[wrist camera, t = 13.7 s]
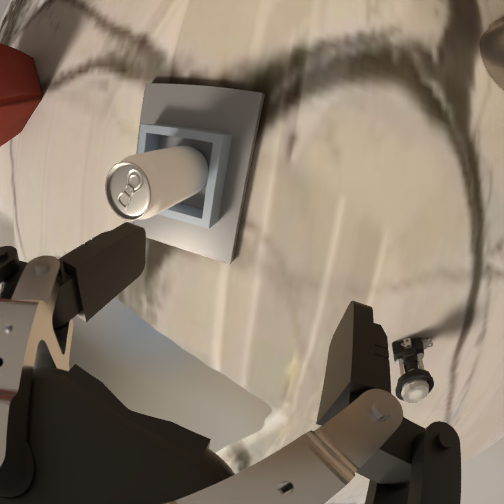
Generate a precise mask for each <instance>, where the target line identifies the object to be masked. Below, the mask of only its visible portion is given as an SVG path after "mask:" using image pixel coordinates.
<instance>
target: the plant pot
mask: <svg viewBox="0 0 504 504" xmlns="http://www.w3.org/2000/svg"><path fill="white" fill-rule="evenodd" d="M41 99H42V90H41V87H40V84H39V80H38V76H37V73H36V69H35V65H34V61H33V58H32V57H30V56H29V55H27V54H25V53H23V52H21V51H19V50H17V49H14V48H12V47H9V46H7V45H4V44H0V146H2V145H3V144H5V143H6V142H8V141H9V140H10V139H12V138H13V137H15V136H16V135H18V134H19V133H20V132H21V131H22V129H23V127H24V126H25V124H26V122H27V121H28V119H29V118H30V116H31V114H32V113H33V111H34V110H35V108H36V107H37V105H38V104H39V102H40V101H41Z"/></svg>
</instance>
